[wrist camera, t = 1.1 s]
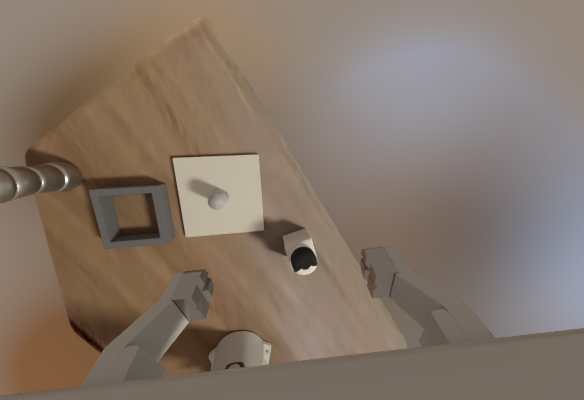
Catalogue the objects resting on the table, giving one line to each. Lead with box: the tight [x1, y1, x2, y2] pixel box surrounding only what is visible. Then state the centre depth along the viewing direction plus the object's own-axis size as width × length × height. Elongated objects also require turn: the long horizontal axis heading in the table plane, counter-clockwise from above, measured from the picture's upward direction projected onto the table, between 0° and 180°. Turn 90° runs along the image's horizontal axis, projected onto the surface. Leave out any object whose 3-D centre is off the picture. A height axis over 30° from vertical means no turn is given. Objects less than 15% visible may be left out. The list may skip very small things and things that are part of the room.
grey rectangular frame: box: [89, 183, 175, 249], centre depth 49 cm, size 14×14×4 cm
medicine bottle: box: [282, 229, 318, 275], centre depth 53 cm, size 7×7×12 cm
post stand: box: [173, 154, 264, 237], centre depth 49 cm, size 20×20×7 cm
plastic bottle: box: [0, 162, 82, 204], centre depth 37 cm, size 6×7×20 cm
